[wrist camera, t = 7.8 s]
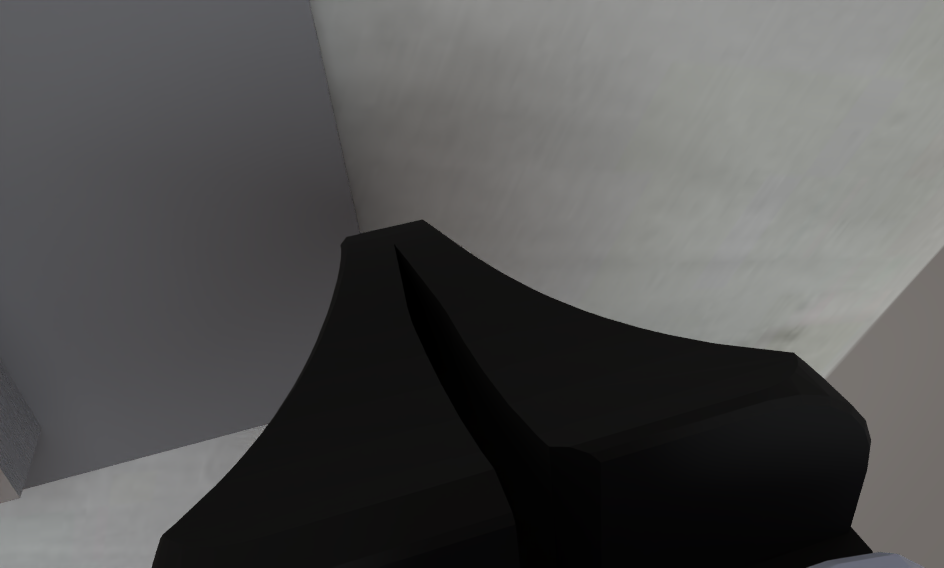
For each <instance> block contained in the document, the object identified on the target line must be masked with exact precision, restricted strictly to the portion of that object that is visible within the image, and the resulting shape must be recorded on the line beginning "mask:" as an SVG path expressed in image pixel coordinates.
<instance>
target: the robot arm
mask: <svg viewBox="0 0 944 568" xmlns="http://www.w3.org/2000/svg"><path fill="white" fill-rule="evenodd" d="M340 246H341V261H340V268H339V273H338V278H337V282H336V286H335V289H334V293H333V296H332V300H331V303H330V307H329V310H328V313H327V315H326V318H325V320H324V323H323V325H322V328H321V330H320V333H319V336H318V338H317V341H316V343H315V345H314V347H313V350H312V352H311V354H310V356H309V358H308V360H307V362H306V364H305V366H304V368H303V370H302V372H301V373H300V375H299V377H298V379H297V381H296V382H295V384H294V386H293V388H292V389H291V391H290V392H289V394H288V395H287V397H286V399H285V400H284V402H283V403H282V405H281V406H280V408H279V409H278V411H277V413H276V414H275V416H274V417H273V418H272V420H271V421H270V423H269V424H268V425H267V427H266V428H265V430H264V431H263V432H262V434H261V435H260V436H259V437H258V439H257V440H256V441H255V442H254V443H253V445H252V446H251V447H250V448H249V449H248V451H247V452H246V453H245V454H244V455H243V457H242V458H241V459H240V460H239V461H238V462H237V464H236V465H235V466H234V467H233V468H232V469H231V470H230V471H229V472H228V473H227V474H226V475H225V477H224V478H223V479H222V480H221V481H220V482H219V483H218V484H217V485H216V486H215V487H214V488H213V489H212V490H210V491H209V492H208V493H207V494H206V495H205V496H204V497H203V498H202V499H201V500H200V501H199V502H198V503H197V504H196V505H195V506H194V507H193V508H192V509H190V510H189V511H188V512H187V513H186V514H185V515H184V516H183V517H182V518H181V519H180V520H179V521H178V522H177V523H176V524H175V525H173V526H172V527H171V528H170V529H169V530H168V531H166V532H165V533H164V534H163V535H162V537H161V538H160V542H159V545H158V548H157V551H156V554H155V558H154V561H153V565H152V568H925V567H923V566H921V565H919V564H917V563H915V562H913V561H911V560H909V559H907V558H905V557H903V556H901V555H899V554H894V553H883V552H877V553H873V552H872V550H871V549H870V548H869V547H868V546H867V544H866V543H865V542H864V541H863V540H862V539H861V538H860V537H859V535H857V533H856V532H855V531H854V530H853V529H852V528H851V524H852V520H853V517H854V513H855V510H856V506H857V503H858V499H859V496H860V493H861V489H862V486H863V482H864V479H865V475H866V472H867V467H868V460H869V452H870V444H871V439H870V435H869V431H868V427H867V424H866V420H865V419H864V418H863V417H862V416H861V415H860V414H859V412H858V411H857V410H856V409H855V408H854V407H853V406H852V405H851V404H850V403H849V402H848V401H847V400H846V399H845V398H844V397H843V396H842V395H841V394H840V393H838V391H836V390H835V389H834V388H833V387H832V386H831V385H830V384H829V383H828V382H827V381H826V380H825V379H824V378H823V377H822V376H820V375H819V374H818V373H817V372H816V371H815V370H814V369H812V368H811V367H810V366H809V365H808V364H807V363H806V362H804V361H803V360H802V359H801V358H799V357H798V356H797V355H796V354H795V353H791V352H782V351H774V350H765V349H756V348H748V347H739V346H730V345H722V344H715V343H709V342H703V341H698V340H693V339H688V338H683V337H677V336H672V335H667V334H663V333H659V332H655V331H650V330H646V329H642V328H638V327H635V326H631V325H628V324H625V323H621V322H618V321H614V320H611V319H607V318H604V317H601V316H598V315H595V314H592V313H589V312H586V311H584V310H581V309H578V308H576V307H573V306H571V305H568V304H566V303H563V302H561V301H558V300H556V299H554V298H551V297H549V296H546V295H544V294H542V293H540V292H538V291H536V290H534V289H532V288H530V287H528V286H526V285H524V284H522V283H520V282H518V281H516V280H514V279H512V278H510V277H509V276H507V275H505V274H503V273H501V272H500V271H498V270H496V269H494V268H493V267H491V266H490V265H488V264H486V263H485V262H483V261H482V260H480V259H478V258H477V257H475V256H474V255H472V254H471V253H469V252H468V251H466V250H465V249H463V248H462V247H461V246H459V245H458V244H456V243H455V242H453V241H452V240H451V239H449V238H448V237H446V236H445V235H444V234H442V233H441V232H440V231H438V230H437V229H435V228H434V227H433V226H431V225H430V224H428V223H427V222H425V221H424V220H419V221H414V222H410V223H405V224H401V225H397V226H392V227H388V228H383V229H379V230H375V231H370V232H366V233H361V234H357V235H353V236H348V237H346V238H345V239H344V241H343V242H342V243H341V245H340Z"/></svg>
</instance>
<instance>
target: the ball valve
mask: <svg viewBox="0 0 944 568" xmlns="http://www.w3.org/2000/svg"><path fill="white" fill-rule="evenodd" d="M41 428H42V427H41V426H40V424H39V422H38V421H37V419H36V417H35V416H34V414H33V412H32V411H31V409H30V407H29V406H28V404H27V402H26V401H25V399H24V397H23V396H22V394H21V392H20V391H19V389H18V387H17V386H16V384H15V382H14V381H13V379H12V377H11V376H10V374H9V372H8V371H7V369H6V367H5V366H4V364H3V362H2V361H1V359H0V503H3V502H7V501H11V500H14V499H18V498H20V497H21V493H22V490H23V487H24V484H25V480H26V477H27V474H28V471H29V467H30V464H31V461H32V457H33V454H34V451H35V448H36V444H37V441H38V438H39V435H40V431H41Z"/></svg>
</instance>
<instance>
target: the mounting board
mask: <svg viewBox="0 0 944 568" xmlns="http://www.w3.org/2000/svg"><path fill="white" fill-rule="evenodd" d="M357 234H360V232H359V227H358V223H357V218H356V213H355V209H354V204H353V200H352V195H351V190H350V186H349V181H348V177H347V172H346V167H345V163H344V158H343V154H342V149H341V144H340V140H339V135H338V131H337V126H336V121H335V117H334V112H333V108H332V103H331V98H330V94H329V89H328V85H327V80H326V75H325V71H324V66H323V62H322V57H321V52H320V48H319V43H318V39H317V34H316V29H315V25H314V20H313V16H312V11H311V6H310V2H309V0H0V359H1V361H2V362H3V364H4V366H5V367H6V369H7V371H8V372H9V374H10V376H11V377H12V379H13V381H14V382H15V384H16V386H17V387H18V389H19V391H20V392H21V394H22V396H23V397H24V399H25V401H26V402H27V404H28V406H29V407H30V409H31V411H32V412H33V414H34V416H35V417H36V419H37V421H38V422H39V424H40V426H41V427H42V428H41V431H40V435H39V438H38V441H37V444H36V448H35V451H34V454H33V457H32V461H31V464H30V467H29V471H28V474H27V477H26V480H25V484H24V487H23V489H26V488H30V487H34V486H37V485H41V484H45V483H49V482H52V481H56V480H60V479H63V478H67V477H71V476H75V475H78V474H82V473H86V472H90V471H93V470H97V469H101V468H105V467H108V466H112V465H116V464H119V463H123V462H127V461H131V460H134V459H138V458H142V457H146V456H149V455H153V454H157V453H161V452H164V451H168V450H172V449H175V448H179V447H183V446H187V445H190V444H194V443H198V442H202V441H205V440H209V439H213V438H217V437H220V436H224V435H228V434H231V433H235V432H239V431H243V430H246V429H250V428H254V427H258V426H261V425H265V424H269V423H270V421H271V420H272V418H273V417H274V416H275V414H276V413H277V411H278V409H279V408H280V406H281V405H282V403H283V402H284V400H285V399H286V397H287V395H288V394H289V392H290V391H291V389H292V388H293V386H294V384H295V382H296V381H297V379H298V377H299V375H300V373H301V372H302V370H303V368H304V366H305V364H306V362H307V360H308V358H309V356H310V354H311V352H312V350H313V347H314V345H315V343H316V341H317V338H318V336H319V333H320V330H321V328H322V325H323V323H324V320H325V318H326V315H327V313H328V310H329V307H330V303H331V300H332V296H333V293H334V289H335V286H336V282H337V278H338V273H339V268H340V261H341V246H340V245H341V243H342V242H343V241H344V239H345V238H346V237H348V236H353V235H357Z"/></svg>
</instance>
